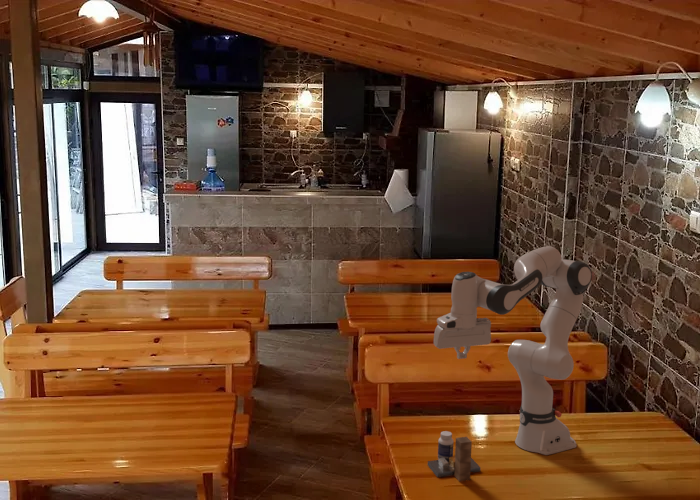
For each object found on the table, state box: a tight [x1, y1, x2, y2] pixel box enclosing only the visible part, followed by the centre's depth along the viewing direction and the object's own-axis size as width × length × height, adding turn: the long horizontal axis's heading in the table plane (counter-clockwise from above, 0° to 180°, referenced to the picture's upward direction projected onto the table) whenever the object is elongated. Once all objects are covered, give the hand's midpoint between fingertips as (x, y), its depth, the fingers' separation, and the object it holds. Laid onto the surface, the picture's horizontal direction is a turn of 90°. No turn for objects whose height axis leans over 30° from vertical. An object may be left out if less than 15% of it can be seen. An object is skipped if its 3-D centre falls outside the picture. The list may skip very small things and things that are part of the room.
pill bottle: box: [437, 430, 454, 460], centre depth 271 cm, size 5×5×10 cm
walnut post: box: [453, 436, 473, 482], centre depth 257 cm, size 4×4×14 cm
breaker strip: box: [427, 455, 482, 478], centre depth 265 cm, size 16×9×4 cm, turn 106°
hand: (461, 358), depth 261 cm, fingers closed
